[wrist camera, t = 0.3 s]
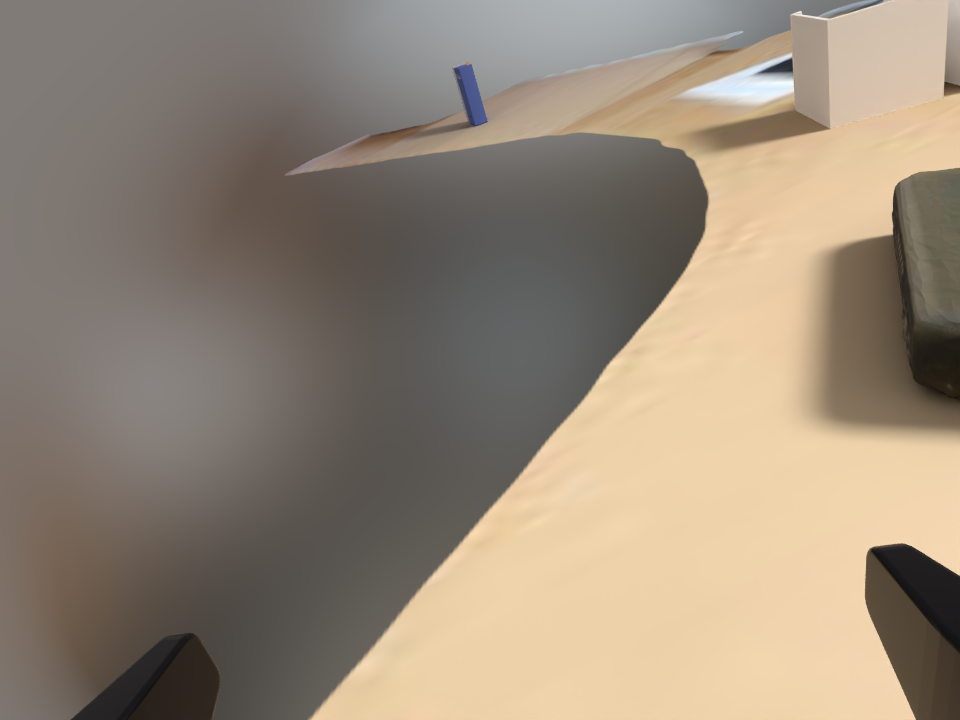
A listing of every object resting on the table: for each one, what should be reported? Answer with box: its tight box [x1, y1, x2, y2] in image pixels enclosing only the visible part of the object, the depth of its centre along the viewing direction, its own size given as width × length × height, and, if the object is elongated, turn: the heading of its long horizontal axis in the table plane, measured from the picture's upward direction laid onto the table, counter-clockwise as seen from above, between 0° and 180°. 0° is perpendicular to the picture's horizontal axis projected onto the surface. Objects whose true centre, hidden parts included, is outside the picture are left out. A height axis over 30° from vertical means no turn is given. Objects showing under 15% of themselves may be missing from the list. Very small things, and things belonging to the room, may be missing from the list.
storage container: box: [790, 0, 960, 129], centre depth 68 cm, size 25×11×11 cm, turn 85°
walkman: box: [452, 63, 488, 126], centre depth 136 cm, size 8×3×12 cm, turn 13°
